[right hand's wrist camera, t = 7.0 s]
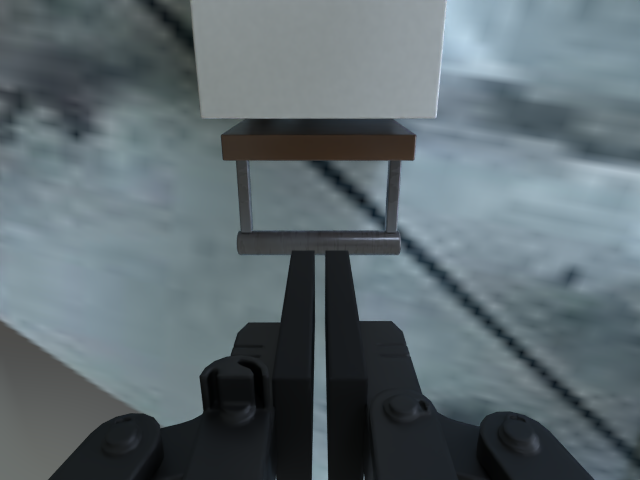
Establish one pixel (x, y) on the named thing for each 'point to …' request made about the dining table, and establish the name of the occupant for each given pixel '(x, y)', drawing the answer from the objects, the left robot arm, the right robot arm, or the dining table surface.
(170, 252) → the dining table surface
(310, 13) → the cabinet
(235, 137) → the drawer
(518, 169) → the dining table surface
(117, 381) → the dining table surface
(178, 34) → the dining table surface
